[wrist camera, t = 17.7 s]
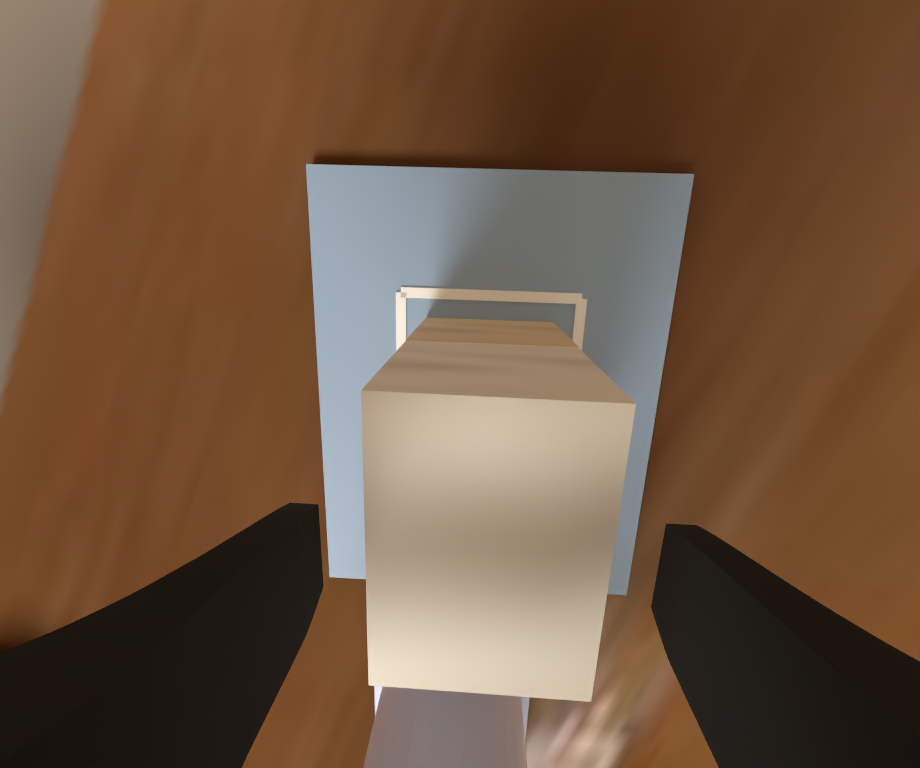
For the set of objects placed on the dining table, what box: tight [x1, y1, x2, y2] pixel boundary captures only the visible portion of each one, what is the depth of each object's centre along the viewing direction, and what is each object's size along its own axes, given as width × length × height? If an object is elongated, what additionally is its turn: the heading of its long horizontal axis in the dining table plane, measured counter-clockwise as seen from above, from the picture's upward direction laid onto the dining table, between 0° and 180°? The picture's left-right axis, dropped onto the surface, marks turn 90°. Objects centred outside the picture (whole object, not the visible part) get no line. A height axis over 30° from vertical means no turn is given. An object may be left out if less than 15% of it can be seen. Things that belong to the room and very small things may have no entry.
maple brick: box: [406, 317, 579, 349], centre depth 16 cm, size 7×5×5 cm
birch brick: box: [361, 341, 636, 702], centre depth 12 cm, size 7×5×5 cm
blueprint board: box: [306, 164, 694, 595], centre depth 19 cm, size 18×14×1 cm
